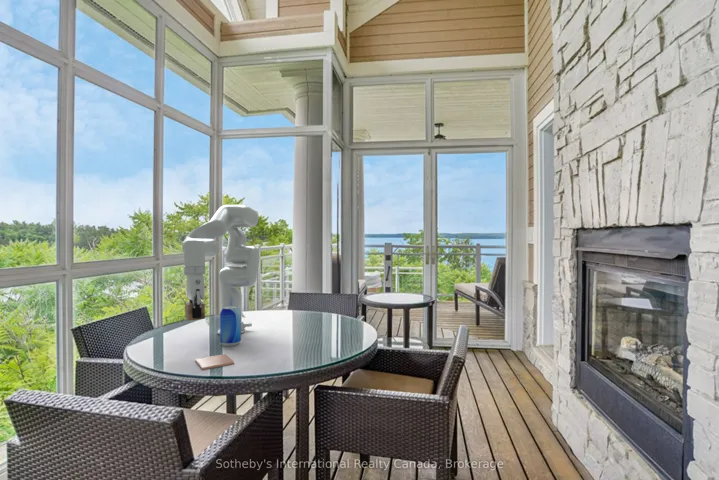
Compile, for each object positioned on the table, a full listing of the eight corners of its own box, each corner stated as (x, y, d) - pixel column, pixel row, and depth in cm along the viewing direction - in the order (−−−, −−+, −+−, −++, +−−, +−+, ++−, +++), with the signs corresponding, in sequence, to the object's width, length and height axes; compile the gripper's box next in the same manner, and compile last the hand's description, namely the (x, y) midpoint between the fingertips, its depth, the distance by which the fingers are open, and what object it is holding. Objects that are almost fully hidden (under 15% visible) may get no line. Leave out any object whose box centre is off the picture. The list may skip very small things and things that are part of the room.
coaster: (225, 355, 148) (225, 353, 148) (234, 363, 139) (234, 361, 139) (195, 361, 142) (195, 359, 142) (202, 369, 133) (202, 367, 133)
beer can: (244, 342, 167) (244, 305, 167) (232, 347, 159) (232, 309, 159) (228, 340, 170) (228, 304, 170) (215, 345, 162) (215, 308, 162)
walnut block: (201, 315, 154) (201, 301, 154) (204, 318, 149) (204, 303, 149) (185, 317, 150) (185, 302, 150) (188, 320, 145) (188, 305, 145)
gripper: (210, 272, 144) (210, 319, 145) (199, 268, 158) (200, 311, 159) (188, 273, 140) (189, 322, 140) (180, 269, 154) (180, 313, 155)
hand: (195, 315), depth 150 cm, fingers closed on walnut block, 6 cm apart
